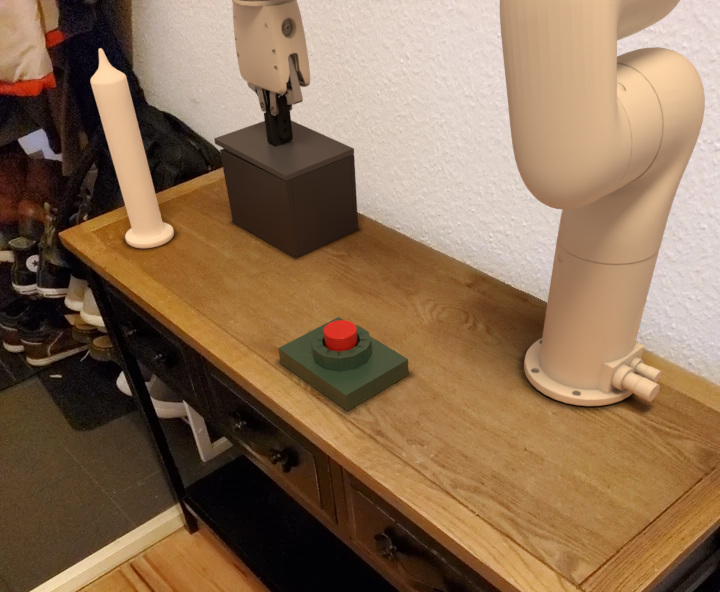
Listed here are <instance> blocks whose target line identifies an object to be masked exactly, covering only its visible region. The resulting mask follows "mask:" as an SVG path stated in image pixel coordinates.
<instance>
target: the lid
mask: <svg viewBox="0 0 720 592" xmlns="http://www.w3.org/2000/svg"><path fill="white" fill-rule="evenodd" d="M291 125H292V134H293V139H292V140H291V141H289V142H286V143H283V144H281V145H278V146H275V145H273V144H270V143H268V141H267V134H266V127H265V120H263V121H260V122H257V123H255V124H251V125H249V126H245V127H242V128H240V129H236V130H234V131H231V132H228V133H226V134H223V135H220V136H217V137H214V144H215V145H216V146H218V147H220V148H221V149H226V150H228V151H230V152H232V153H234V154H235V155H237V156H239V157H241V158H243V159H245V160H247V161H249V162H251V163H253V164H255V165H256V166H258V167H260V168H262V169H264V170H266V171H268V172H270V173H272V174H274V175H275V176H277V177H279V178H281V179H283V180H285V181H288V180H290V179H293V178H295V177H298V176H300V175H303V174H305V173H308V172H311V171H313V170H316V169H318V168H321V167H323V166H326V165H328V164H331V163H333V162H336V161H338V160H341V159H343V158H346V157H348V156H351V155H355V148H354V147H352V146H349V145H348V144H345V143H343V142H340V141H338V140H336V139H335V138H332V137H329V136H327V135H325V134H322V133H321V132H318V131H317V130H314V129H312V128H309V127H307V126H305V125H302V124H300V123H298V122H297V121H294V120H292V119H291Z"/></svg>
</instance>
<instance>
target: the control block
mask: <svg viewBox="0 0 720 592" xmlns="http://www.w3.org/2000/svg"><path fill="white" fill-rule="evenodd" d="M338 320H344V318H342V317H340V316H338V317H336V318H333V319H332V320H330V321H328V322H326V323H323V324H322V325H320V326H318V327H316V328H314V329H312V330H310V331H308V332H306V333H305V334H302V335H301V336H299V337H297V338H295V339H292V340H291V341H288V342H287V343H285V344H283V345H282V346H279V347H278V348H277V349H278V355H279V362H280V364H281V365H282V366H283V367H285V368H286V369H287V370H289V371H290V372H291V373H294V374H295V375H296V376H297V377H299V378H300V379H301V380H302V381H305V383H307V384H308V385H310V386H311V387H313V388H314V389H315V390H317V391H318V392H319V393H321V394H323V395H324V396H325V397H326V398H328V399H329V400H331V401H332V402H333V403H335V404H336V405H338V406H339V407H341V408H342V409H344V411H346V412H348V411H350V410H352V409H354V408H356V407H357V406H359V405H360V404H362V403H364V402H365V401H367V400H369V399H371V398H372V397H374V396H375V395H377V394H379V393H381V392H383V391H384V390H386V389H388V388H389V387H391V386H392V385H394V384H397V382H400V381H401V380H403V379H404V378H406V377H408V376H409V358H408V357H405V356H404V355H403V354H400V353H399V352H398V351H396V350H394V349H392V348H391V347H389V346H388V345H386V344H384V343H382V342H381V341H379V340H378V339H376V338H375V337H373V336H371V335H370V332H369V331H368V330H366V329H365V328H363V327H362V326H361V325H358V324H355V326H356V327H357V345H356V346H355V347H354V348H352V349H350V350H346V351H339V352H338V351H332V350H330V349H328V348H327V347H326V345H325V338H324V328H325V326H326V325H327V324H329V323H331V322H333V321H338Z"/></svg>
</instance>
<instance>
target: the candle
mask: <svg viewBox="0 0 720 592" xmlns="http://www.w3.org/2000/svg"><path fill="white" fill-rule="evenodd" d="M89 83H90V85H91V89H92V93H93V97H94V100H95V103H96V107H97V110H98V113H99V114H98V115H99V116H100V121H101V125H102V129H103V131H104V135H105V139H106V142H107V146H108V149H109V153H110V156H111V160H112V164H113V167H114V171H115V175H116V178H117V181H118V185H119V187H120V188H119V189H120V192H121V195H122V199H123V202H124V206H125V209H126V213H127V217H128V220H129V224H130V228H129V229H128V230H127V231H126V232H125V234H124V239H125V242H126V244H127V245H129V246H130V247H132V248H136V249H153V248H157V247H160V246H163V245H165V244H167V243H169V242H170V241H171V240H173V237H174V236H175V230H174V227H173V226H172V225H171V224H170V223H167V222H164V221H163V219H162V214H161V210H160V206H159V202H158V198H157V194H156V190H155V186H154V183H153V178H152V175H151V171H150V166H149V161H148V158H147V154H146V150H145V147H144V142H143V139H142V135H141V130H140V126H139V121H138V118H137V114H136V110H135V106H134V102H133V99H132V94H131V91H130V86H129V82H128V79H127V75H126V74H125V72H122V71H121V70H118V69H117V68H116V67H114V66H113V65H112V64H111V63H110V61H109V59H108V57H107V56H106V54H105V51H104V49H103V48H101V47H100V48H98V68H97V69H96V70H95V72H94V74H93V75H92V76H91V77H90V82H89Z"/></svg>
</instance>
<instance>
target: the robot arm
mask: <svg viewBox="0 0 720 592" xmlns="http://www.w3.org/2000/svg"><path fill="white" fill-rule="evenodd" d="M680 1H681V0H499V24H500V25H499V27H500V37H501V46H502V54H503V55H502V56H503V67H504V68H503V69H504V77H505V87H506V97H507V107H508V116H509V117H508V118H509V126H510V137H511V144H512V150H513V156H514V160H515V163H516V167H517V170H518V173H519V176H520V178H521V180H522V181H523V184H524V185H525V187H526V189H527V190H528V191H529V192H530V193H531V195H532V196H533V197H534V198H535V199H536V200H537V201H539V202H540V203H541V204H543V205H545V206H547V207H549V208H552V209H555V210H561V214H560V219H559V226H558V229H557V230H558V231H557V237H556V243H555V250H554V256H553V263H552V270H551V276H550V283H549V289H548V290H549V291H548V297H547V303H546V304H547V305H546V310H545V317H544V323H543V329H542V330H543V331H542V335H541V336H542V337H541V338H538V339H537V340H536V341H535V342H533V343H532V344H531V345H530V346H529V347H528V348H527V350H526V353H525V355H524V360H523V361H524V362H523V371H524V374H525V377H526V378H527V380H528V382H529V383H530V384H531V385H532V386H533V387H534V388H535V389H536V390H537V391H539V392H540V393H541V394H543V395H545V396H547V397H549V398H551V399H553V400H555V401H558V402H561V403H564V404H569V405H574V406H583V407H600V406H601V407H602V406H606V405H612V404H616V403H618V402H622V401H623V400H625V399H627V398H629V397H631V395H633V394H634V395H636V396H637V397H639V398H641V399H643V400H644V401H647V402H649V403H650V402H652V401H653V400H655V398H656V397H657V395H658V394H659V391H660V389H661V385H660V384H659V383H658V382H659V381H660V379H661V378H662V376H663V371H661V370H659V369H658V368H656V367H653V366H651V365H648V364H646V363H645V362H644V360H643V359H642V357H643V353H644V348H645V344H642V343H640V342H638V341H637V338H638V334H639V330H640V326H641V323H642V318H643V315H644V311H645V307H646V303H647V299H648V295H649V292H650V288H651V284H652V278H653V276H654V272H655V268H656V264H657V260H658V257H659V252H660V249H661V246H662V242H663V239H664V234H665V232H666V231H665V230H666V227H667V223H668V219H669V215H670V213H671V209H672V207H673V203H674V200H675V197H676V194H677V191H678V189H679V186H680V183H681V181H682V178H683V176H684V174H685V171H686V170H687V168H688V167H687V166H688V165H689V162H690V159H691V158H692V155H693V153H694V150H695V147H696V145H697V142H698V139H699V136H700V133H701V129H702V125H703V123H704V116H705V109H706V108H705V107H706V106H705V105H706V104H705V103H706V97H705V89H704V84H703V81H702V78H701V76H700V74H699V72H698V70H697V68H696V67H695V65H694V64H693V62H691V61H690V60H689V59H688V58H687V57H686V56H684V55H683V54H682V53H679V52H677V51H676V50H673V49H669V48H666V47H659V46H658V47H657V46H656V47H653V46H652V47H642V48H637V49H634V50H631V51H627V52H625V53H622V54H620V55H618V41H620V40H622V39H625V38H627V37H630V36H633V35H634V34H637V33H640V32H642V31H644V30H645V29H647V28H649V27H651V26H653V25H655V24H656V23H658V22H660V21H661V20H663V19H665V18H666V17H667V16H668V15H669V14H670V13H671V12H672V11H673V10H674V9H675V8H676V7H677V5H678V4H679V3H680ZM231 2H232V21H233V33H234V43H235V51H236V53H235V54H236V58H237V65H238V69H239V74H240V76H241V78H242V79H243V80H244V81H245V82H246V84H247V87H248V88H249V89H250V90H252V91H253V92H254V93H255V94H256V95H257V98H258V102H259V106H260V110H261V111H262V112H263V119H264V121H265V127H266V134H267V141H268V143H270V144H273V145H275V146H278V145H281V144H283V143H286V142H289V141H291V140H292V139H293V134H292V125H291V120H292V117H291V116H292V115H291V111H292V110H293V105H294V106H295V105H297V104H300V103H302V102H304V101H303V100H304V98H303V97H304V96H303V94H302V89H301V87H302V88H306V87H308V86H309V85H311V71H310V69H311V68H310V62H309V54H308V46H307V41H306V33H305V28H304V24H303V18H302V14H301V11H300V7H299V3H298V0H231Z"/></svg>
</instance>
